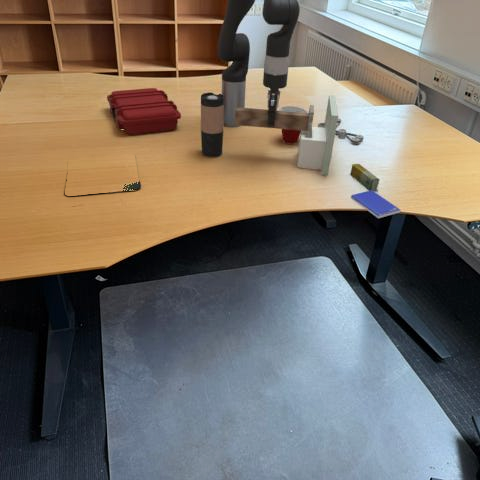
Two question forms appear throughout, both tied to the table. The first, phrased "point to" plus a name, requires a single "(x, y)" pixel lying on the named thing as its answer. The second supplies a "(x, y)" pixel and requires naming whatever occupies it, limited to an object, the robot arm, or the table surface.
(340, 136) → the pulley system
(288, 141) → the plastic cup
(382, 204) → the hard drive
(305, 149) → the grey upright panel
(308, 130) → the post on square base
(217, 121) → the travel mug
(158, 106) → the first aid kit
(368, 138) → the table surface
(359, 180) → the medication box
